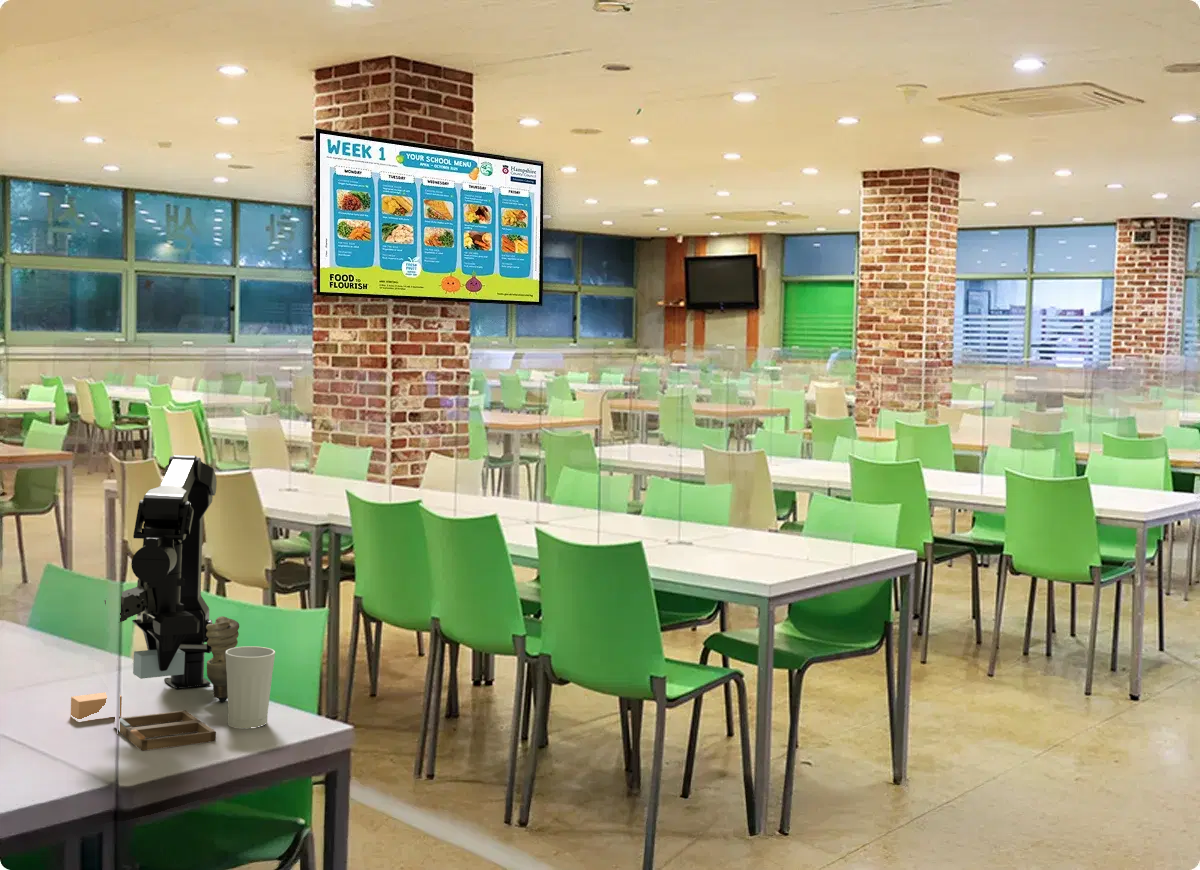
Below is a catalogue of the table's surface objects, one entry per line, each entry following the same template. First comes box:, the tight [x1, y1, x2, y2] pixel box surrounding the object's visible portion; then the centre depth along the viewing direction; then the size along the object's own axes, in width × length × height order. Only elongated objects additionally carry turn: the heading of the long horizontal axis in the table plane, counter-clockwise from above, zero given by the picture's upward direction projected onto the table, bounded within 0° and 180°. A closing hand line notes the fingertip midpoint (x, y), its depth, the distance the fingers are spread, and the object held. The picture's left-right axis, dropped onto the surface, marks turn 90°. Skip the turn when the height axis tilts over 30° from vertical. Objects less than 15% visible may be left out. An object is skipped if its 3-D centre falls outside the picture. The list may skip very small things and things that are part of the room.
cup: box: [225, 645, 276, 729], centre depth 222 cm, size 8×8×12 cm
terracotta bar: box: [70, 691, 123, 719], centre depth 222 cm, size 4×7×4 cm, turn 131°
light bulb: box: [206, 615, 240, 703], centre depth 235 cm, size 6×6×15 cm
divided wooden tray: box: [119, 710, 217, 752], centre depth 214 cm, size 14×12×2 cm
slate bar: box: [132, 649, 185, 680], centre depth 216 cm, size 4×7×4 cm, turn 128°
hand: (159, 667), depth 216 cm, fingers closed on slate bar, 4 cm apart
